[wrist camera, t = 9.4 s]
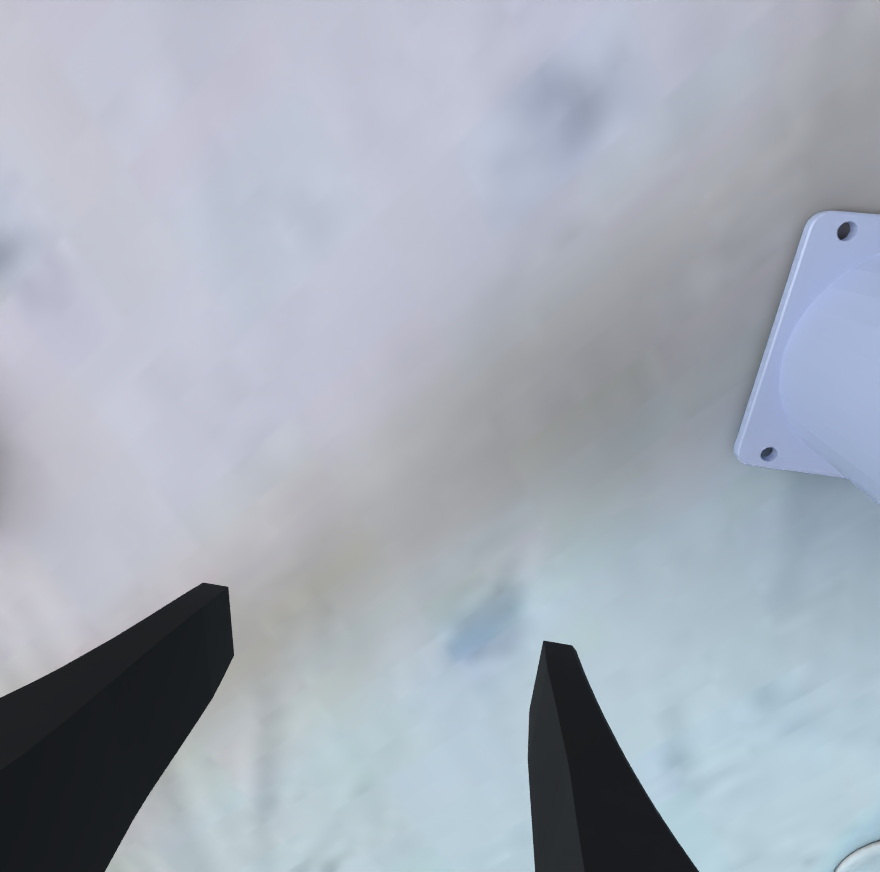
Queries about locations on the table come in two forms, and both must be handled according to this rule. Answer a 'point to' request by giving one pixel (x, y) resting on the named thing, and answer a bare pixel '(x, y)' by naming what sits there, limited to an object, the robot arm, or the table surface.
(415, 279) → the table surface
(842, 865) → the lidded bowl
